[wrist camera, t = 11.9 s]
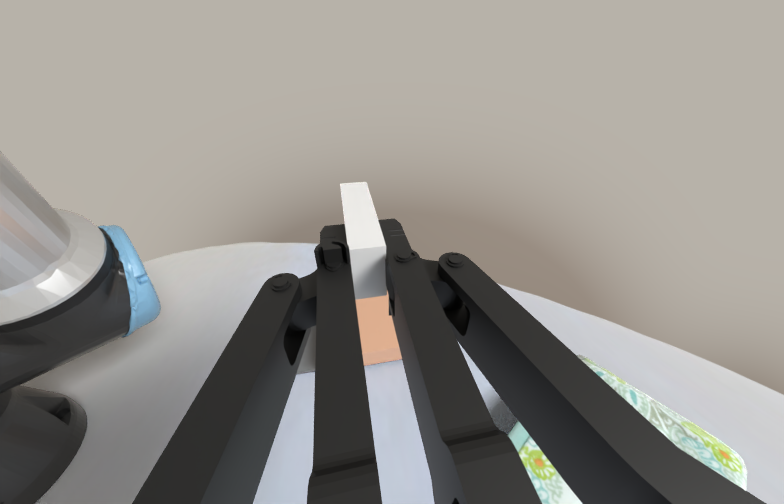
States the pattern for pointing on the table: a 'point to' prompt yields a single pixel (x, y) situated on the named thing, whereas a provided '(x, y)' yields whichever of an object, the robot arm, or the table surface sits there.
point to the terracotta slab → (377, 331)
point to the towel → (676, 428)
